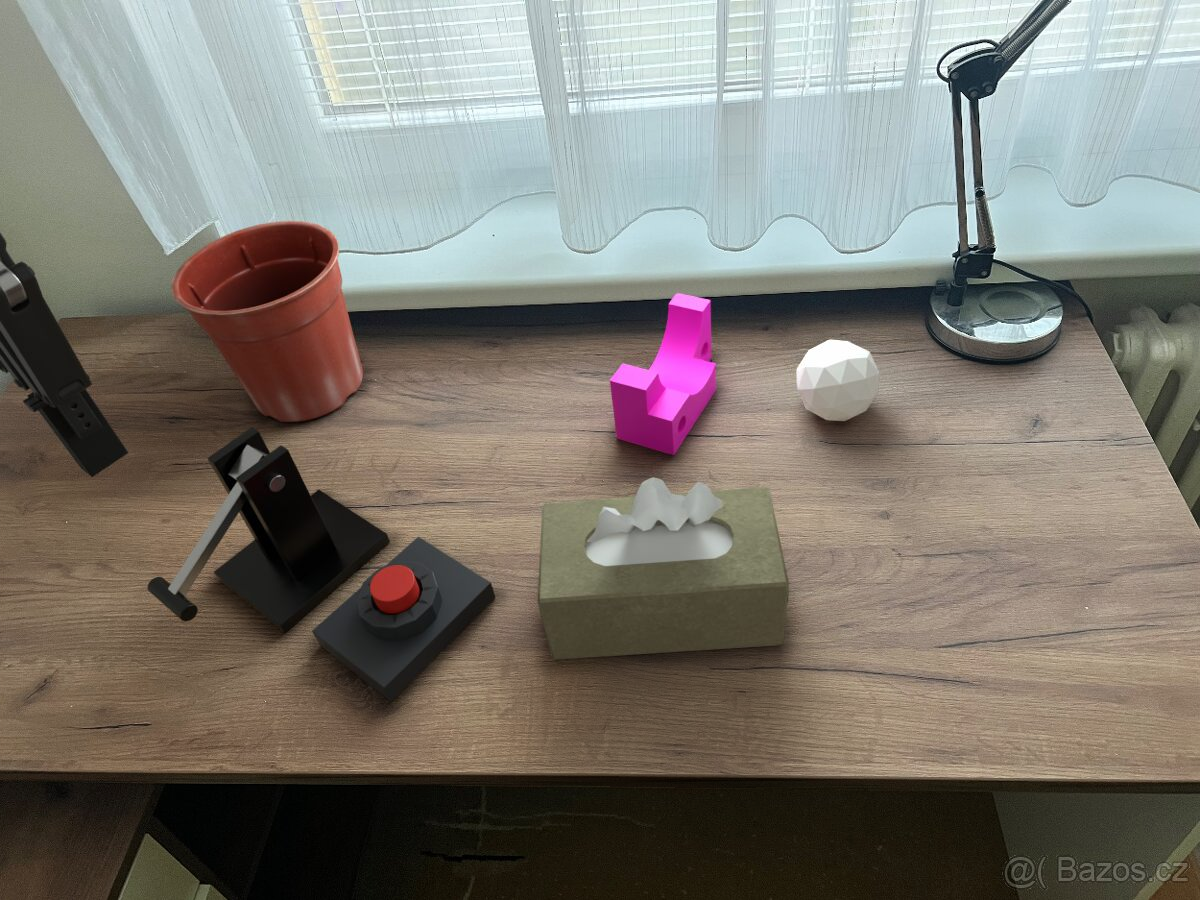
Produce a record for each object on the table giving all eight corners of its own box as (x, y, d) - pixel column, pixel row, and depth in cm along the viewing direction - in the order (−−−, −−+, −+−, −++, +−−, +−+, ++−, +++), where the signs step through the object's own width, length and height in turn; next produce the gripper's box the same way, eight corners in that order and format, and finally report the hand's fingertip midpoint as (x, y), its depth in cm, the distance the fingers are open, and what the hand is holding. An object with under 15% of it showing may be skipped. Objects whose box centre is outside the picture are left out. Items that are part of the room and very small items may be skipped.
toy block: (673, 455, 84) (670, 396, 79) (616, 438, 87) (609, 380, 82) (733, 363, 93) (733, 305, 88) (679, 350, 96) (677, 293, 90)
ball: (814, 419, 90) (800, 343, 89) (894, 408, 86) (880, 327, 85) (793, 434, 83) (777, 351, 82) (878, 422, 79) (863, 335, 78)
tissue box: (548, 661, 69) (515, 533, 58) (552, 563, 76) (523, 432, 65) (787, 646, 68) (799, 512, 57) (769, 548, 75) (776, 412, 64)
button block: (391, 702, 68) (377, 675, 65) (320, 645, 73) (303, 618, 70) (496, 597, 74) (487, 569, 72) (424, 551, 79) (413, 522, 76)
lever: (196, 624, 69) (172, 618, 67) (162, 595, 72) (138, 588, 70) (293, 471, 71) (273, 461, 69) (257, 448, 74) (237, 437, 71)
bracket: (285, 633, 74) (219, 528, 64) (218, 580, 79) (148, 474, 69) (390, 541, 80) (344, 433, 70) (322, 497, 85) (271, 390, 75)
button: (396, 621, 69) (390, 608, 68) (366, 600, 71) (360, 587, 70) (428, 590, 71) (423, 577, 70) (399, 571, 73) (393, 557, 72)
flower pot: (203, 414, 96) (134, 292, 85) (304, 329, 106) (255, 209, 95) (314, 455, 89) (256, 329, 78) (411, 360, 99) (372, 236, 88)
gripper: (-1, 113, 41) (206, 464, 58) (-108, 69, 48) (106, 396, 64) (-172, 183, 37) (103, 538, 54) (-263, 125, 44) (7, 457, 60)
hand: (104, 460), depth 59 cm, fingers closed
